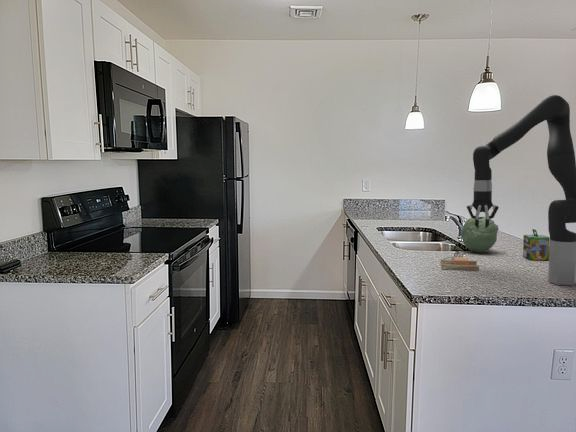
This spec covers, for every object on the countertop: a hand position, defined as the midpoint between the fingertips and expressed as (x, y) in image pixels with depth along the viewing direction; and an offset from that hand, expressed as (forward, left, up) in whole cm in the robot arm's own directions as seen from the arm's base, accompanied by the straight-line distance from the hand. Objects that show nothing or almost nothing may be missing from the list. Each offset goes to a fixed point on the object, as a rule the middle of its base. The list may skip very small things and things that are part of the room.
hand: (481, 227), depth 190 cm
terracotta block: (0, +8, -19) cm, 21 cm away
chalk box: (+25, -28, -19) cm, 42 cm away
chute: (0, +9, -19) cm, 21 cm away
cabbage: (+36, -3, -19) cm, 41 cm away
